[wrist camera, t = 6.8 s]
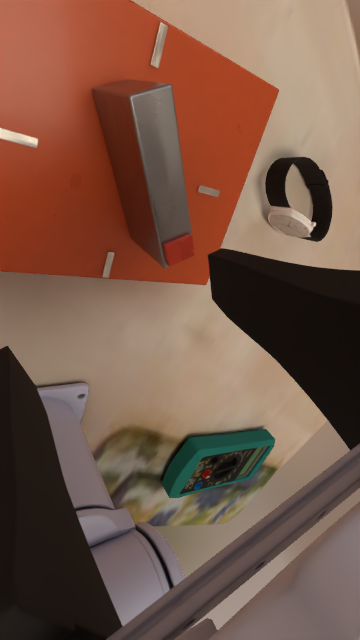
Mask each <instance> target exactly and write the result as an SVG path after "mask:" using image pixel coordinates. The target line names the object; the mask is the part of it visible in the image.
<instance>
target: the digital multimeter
mask: <svg viewBox="0 0 360 640" xmlns="http://www.w3.org/2000/svg"><path fill="white" fill-rule="evenodd" d="M274 443H275V438H274V437H273V436H272V435H271V434H270V433H269V432H268V431H267V430H266V429H260V430H252V431H243V432H234V433H225V434H216V435H206V436H197V437H188V439H187V440H186V442H185V443H184V445H183V446H182V447H181V449H180V450H179V452H178V453H177V454H176V456H175V457H174V459H173V460H172V462H171V463H170V465H169V467H168V469H167V471H166V473H165V476H164V479H163V482H162V485H163V487H164V489H165V491H166V492H167V494H168V496H169V498H179V497H182V496H186V495H189V494H193V493H196V492H200V491H203V490H207V489H211V488H214V487H218V486H223V485H227V484H231V483H235V482H240V481H244V480H248V479H250V478H251V477H252V476H253V475H254V474H255V472H256V471H257V470H258V469H259V467H260V466H261V465H262V463H263V462H264V460H265V459H266V458H267V456H268V455H269V453H270V452H271V450H272V448H273V447H274Z"/></svg>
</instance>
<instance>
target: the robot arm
mask: <svg viewBox="0 0 360 640" xmlns="http://www.w3.org/2000/svg"><path fill="white" fill-rule="evenodd" d="M208 263H209V273H210V282H211V292H212V299H213V301H214V302H215V303H216V304H217V305H218V307H219V308H220V309H221V310H222V311H223V312H224V314H225V315H226V316H227V317H228V318H229V319H230V320H231V321H232V322H234V323H235V324H236V325H237V326H238V327H239V328H240V329H241V330H243V331H244V332H245V333H246V334H247V335H248V336H250V337H251V338H252V339H253V340H254V341H255V342H256V343H258V344H259V345H260V346H261V347H262V348H263V349H265V350H266V351H267V352H268V353H269V354H270V355H271V356H272V357H273V358H274V359H275V360H277V361H278V363H279V364H280V365H281V366H282V367H283V368H284V369H285V370H286V371H287V372H288V373H289V374H290V376H291V377H292V378H293V379H294V380H295V381H296V382H297V383H298V385H299V386H300V387H301V388H302V389H303V390H304V391H305V393H306V394H307V395H308V396H309V397H310V398H311V400H312V401H313V402H314V403H315V405H316V406H317V407H318V408H319V410H320V411H321V412H322V413H323V414H324V416H325V417H326V418H327V419H328V421H329V422H330V423H331V425H332V426H333V427H334V429H335V430H336V431H337V433H338V434H339V435H340V437H341V438H342V439H343V441H344V442H345V443H346V445H347V446H348V448H349V449H350V451H349V452H348V453H347V454H345V455H344V456H343V457H342V458H340V459H339V460H338V461H336V462H335V463H334V464H333V465H331V466H330V467H329V468H327V469H326V470H325V471H323V472H322V473H321V474H320V475H318V476H317V477H316V478H314V479H313V480H312V481H311V482H309V483H308V484H307V485H305V486H304V487H303V488H302V489H300V490H299V491H298V492H296V493H295V494H294V495H293V496H291V497H290V498H289V499H287V500H286V501H285V502H283V503H282V504H281V505H279V506H278V507H277V508H276V509H275V510H273V511H272V512H270V513H269V514H268V515H267V516H265V517H264V518H263V519H261V520H260V521H259V522H257V523H256V524H255V525H254V526H252V527H251V528H250V529H248V530H247V531H246V532H245V533H243V534H242V535H241V536H239V537H238V538H237V539H236V540H234V541H233V542H232V543H230V544H229V545H228V546H226V547H225V548H224V549H223V550H221V551H220V552H219V553H217V554H216V555H215V556H214V557H212V558H211V559H210V560H208V561H207V562H206V563H204V564H203V565H202V566H201V567H199V568H198V569H197V570H195V571H194V572H193V573H191V574H190V575H189V576H188V577H186V578H185V575H184V572H183V569H182V567H181V564H180V562H179V560H178V558H177V556H176V554H175V552H174V550H173V548H172V547H171V545H170V544H169V542H168V541H167V540H166V539H165V537H163V536H162V535H161V534H160V533H159V532H158V531H157V530H156V529H155V528H154V527H152V526H151V525H150V524H148V523H145V522H138V523H136V524H134V522H133V520H132V518H131V515H130V513H129V511H128V509H127V508H123V509H119V510H115V508H114V505H113V503H112V501H111V498H110V496H109V493H108V491H107V489H106V486H105V484H104V482H103V479H102V477H101V474H100V472H99V470H98V467H97V465H96V462H95V460H94V458H93V455H92V453H91V450H90V448H89V446H88V443H87V441H86V438H85V436H84V434H83V431H82V429H81V426H80V424H81V420H82V416H83V412H84V408H85V404H86V400H87V396H88V392H89V387H88V385H87V384H86V383H75V384H67V385H59V386H50V387H42V388H37V387H36V386H35V385H34V383H33V382H32V380H31V379H30V377H29V376H28V375H27V373H26V372H25V370H24V369H23V367H22V366H21V364H20V363H19V362H18V360H17V359H16V357H15V356H14V354H13V353H12V351H11V350H10V349H9V347H8V346H6V347H4V348H2V349H0V640H360V502H359V503H357V504H356V505H355V506H354V507H353V508H351V509H350V510H349V511H348V512H347V513H346V514H344V515H343V516H342V517H341V518H340V519H338V520H337V521H336V522H335V523H334V524H333V525H331V526H330V527H329V528H328V529H327V530H326V531H325V532H324V533H322V534H321V535H320V536H319V537H318V538H317V539H316V540H314V541H313V542H312V543H311V544H310V545H309V546H308V547H307V548H306V549H305V550H303V551H302V552H301V553H300V554H299V555H298V556H297V557H296V558H295V559H294V560H293V561H291V562H290V564H288V565H287V566H286V567H285V568H284V569H283V570H282V571H281V572H280V573H278V574H277V575H276V576H275V577H274V578H273V579H272V580H271V581H270V582H269V583H268V584H267V585H266V586H265V587H264V588H263V589H262V590H260V591H259V593H257V594H256V595H255V596H254V597H253V598H252V599H251V600H250V601H249V602H248V603H247V604H246V605H245V606H243V608H241V609H240V610H239V611H238V612H237V613H236V614H235V615H234V616H233V617H232V618H231V619H230V620H229V621H228V622H227V623H225V624H224V625H223V626H222V627H221V628H220V629H219V630H217V629H216V627H215V625H214V623H213V621H212V620H211V619H208V618H207V619H205V620H203V621H202V622H200V623H199V624H198V625H196V626H194V627H193V628H191V627H192V626H193V625H194V624H195V623H196V622H198V621H199V620H200V619H201V618H203V617H204V616H205V615H206V614H207V613H209V612H210V611H211V610H212V609H213V608H215V607H216V606H217V605H218V604H219V603H221V602H222V601H223V600H224V599H225V598H227V597H228V596H229V595H230V594H232V593H233V592H234V591H235V590H236V589H238V588H239V587H240V586H241V585H242V584H244V583H245V582H246V581H247V580H248V579H250V578H251V577H252V576H253V575H255V574H256V573H257V572H258V571H259V570H261V569H262V568H263V567H264V566H265V565H267V563H269V562H270V561H271V560H273V559H274V558H275V557H276V556H278V555H279V554H280V553H281V552H282V551H284V550H285V549H286V548H287V547H288V546H290V545H291V544H292V543H293V542H294V541H296V540H297V539H298V538H299V537H300V536H301V535H303V534H304V533H305V532H307V531H308V530H309V529H310V528H311V527H313V526H314V525H315V524H316V523H317V522H319V521H320V520H321V519H322V518H323V517H325V516H326V515H327V514H328V513H330V511H332V510H333V509H334V508H335V507H337V506H338V505H339V504H340V503H341V502H342V501H344V500H345V499H346V498H348V497H349V496H350V495H351V494H352V493H354V492H355V491H356V490H357V489H358V488H360V271H356V270H338V269H328V268H318V267H311V266H305V265H299V264H293V263H288V262H283V261H278V260H273V259H269V258H264V257H260V256H256V255H251V254H247V253H243V252H238V251H234V250H229V249H222V248H221V249H219V250H217V251H215V252H213V253H210V254H208ZM80 394H82V395H80Z"/></svg>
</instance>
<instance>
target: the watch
mask: <svg viewBox="0 0 360 640" xmlns="http://www.w3.org/2000/svg"><path fill="white" fill-rule="evenodd" d="M293 163H294V164H295V165H296V166H297V167H298V169H299V170H300V172H301V174H302V176H303V177H304V179H305V182H306V185H307V187H308V189H310V192H311V196H312V201H313V215H312V221H310V220H309V219H308V218H307V217H306V216H304V215H303V214H301V213H299V212H297V211H296V210H293V209H292V208H291V207H290V205H289V204H288V201H287V198H286V193H285V181H286V176H287V173H288V171H289V169H290V167H291V165H292V164H293ZM265 185H266V194H267V198H268V201H269V203H270V206H269V207H270V208H272V209H271V211H270V213H269V216H268V221H269V222H270V224H271V225H272V226H273V227H274V228H276V229H277V230H279V231H280V232H282V233H284V234H286V235H290V236H294V237H298V238H302V239H306V240H311V241H315V242H318V241H321V240H322V239H323V238H324V237H325V236H326V234H327V232H328V230H329V227H330V223H331V218H332V199H331V193H330V189H329V185H328V180H327V179H326V176H325V174H324V172H323V170H320V169H319V167H318V166H317V164H316V163H315V162H314V161H313V160H311V159H310V158H307V157H291V158H280V159H278V160H276V161H275V162H274V163H273V164H272V165H271V166H270V168H269V170H268V172H267V176H266V182H265Z"/></svg>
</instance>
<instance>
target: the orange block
mask: <svg viewBox="0 0 360 640" xmlns="http://www.w3.org/2000/svg"><path fill="white" fill-rule="evenodd" d="M125 79H131V80H140V81H148V82H157V83H166V84H171V85H172V88H173V95H174V103H175V110H176V118H177V125H178V133H179V141H180V148H181V156H182V163H183V171H184V178H185V186H186V194H187V201H188V209H189V216H190V224H191V231H192V238H193V246H194V253H195V255H194V256H192V257H190V258H188V259H186V260H183V261H181V262H179V263H177V264H175V265H172V266H170V267H168V268H163V267H162V266H161V265H160V264H159V263H158V262H156V261H155V260H154V259H153V258H152V257H151V256H150V255H149V254H147V253H146V252H145V251H144V250H143V249H142V248H141V247H140V246H139V245H137V244H136V243H135V242H134V241H133V240H132V239H131V236H130V232H129V229H128V225H127V221H126V217H125V213H124V210H123V206H122V202H121V198H120V195H119V191H118V187H117V183H116V179H115V176H114V172H113V168H112V164H111V161H110V157H109V153H108V149H107V145H106V142H105V138H104V134H103V130H102V127H101V123H100V119H99V115H98V111H97V108H96V104H95V100H94V96H93V93H92V88H94V87H98V86H101V85H105V84H109V83H113V82H117V81H121V80H125ZM278 92H279V90H278V89H277V88H275V87H274V86H272V85H271V84H269V83H267V82H266V81H264V80H262V79H261V78H259V77H257V76H256V75H254V74H252V73H251V72H249V71H247V70H246V69H244V68H242V67H241V66H239V65H237V64H236V63H234V62H232V61H231V60H229V59H227V58H226V57H224V56H222V55H221V54H219V53H217V52H216V51H214V50H212V49H211V48H209V47H207V46H206V45H204V44H202V43H201V42H199V41H197V40H196V39H194V38H192V37H191V36H189V35H187V34H186V33H184V32H182V31H181V30H179V29H177V28H176V27H174V26H172V25H171V24H169V23H167V22H166V21H164V20H162V19H161V18H159V17H157V16H156V15H154V14H152V13H151V12H149V11H147V10H146V9H144V8H142V7H141V6H139V5H137V4H136V3H134V2H132V1H131V0H0V271H4V272H19V273H34V274H49V275H64V276H79V277H94V278H109V279H124V280H139V281H154V282H169V283H184V284H199V285H206V284H207V282H208V279H209V276H210V273H209V263H208V254H210V253H213V252H215V251H217V250H219V249H220V247H221V244H222V242H223V239H224V236H225V234H226V231H227V228H228V226H229V223H230V220H231V218H232V215H233V212H234V210H235V207H236V204H237V202H238V199H239V196H240V194H241V191H242V188H243V186H244V183H245V180H246V178H247V175H248V172H249V170H250V167H251V164H252V162H253V159H254V156H255V154H256V151H257V148H258V146H259V143H260V140H261V138H262V135H263V132H264V130H265V127H266V124H267V122H268V119H269V116H270V114H271V111H272V108H273V106H274V103H275V100H276V98H277V95H278Z"/></svg>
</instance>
